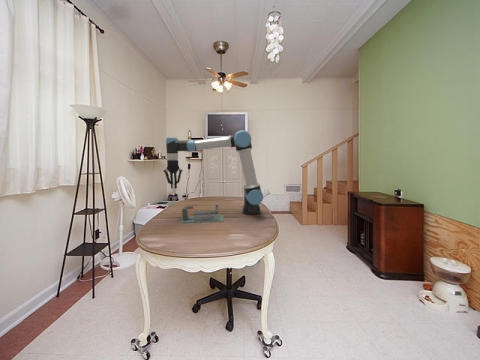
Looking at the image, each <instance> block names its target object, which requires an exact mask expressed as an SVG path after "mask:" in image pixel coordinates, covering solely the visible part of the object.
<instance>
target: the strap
mask: <svg viewBox="0 0 480 360" xmlns="http://www.w3.org/2000/svg"><path fill="white" fill-rule="evenodd" d="M194 210H195V211H197V210H213V211H216V209H215V207H211V208H210V207H194Z"/></svg>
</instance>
